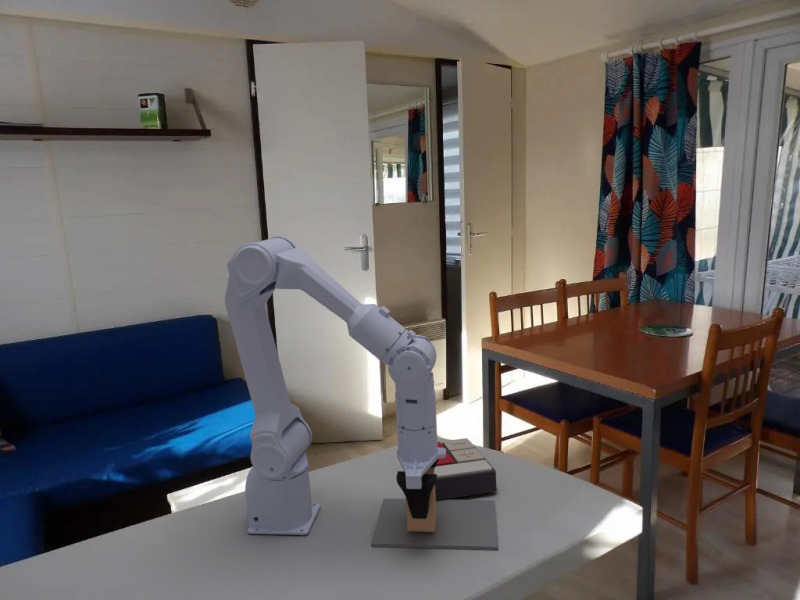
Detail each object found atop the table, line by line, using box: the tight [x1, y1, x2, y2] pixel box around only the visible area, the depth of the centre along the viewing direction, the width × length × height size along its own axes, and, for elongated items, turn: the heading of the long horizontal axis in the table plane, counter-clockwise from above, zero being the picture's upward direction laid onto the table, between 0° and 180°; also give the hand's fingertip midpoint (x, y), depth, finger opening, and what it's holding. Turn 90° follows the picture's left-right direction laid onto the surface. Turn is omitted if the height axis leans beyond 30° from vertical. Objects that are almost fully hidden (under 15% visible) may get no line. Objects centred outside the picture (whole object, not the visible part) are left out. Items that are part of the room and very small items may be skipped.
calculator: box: [434, 438, 497, 500], centre depth 101 cm, size 11×4×15 cm
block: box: [405, 467, 436, 532], centre depth 85 cm, size 4×4×8 cm
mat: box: [370, 498, 499, 551], centre depth 88 cm, size 18×12×1 cm, turn 83°
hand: (420, 508), depth 85 cm, fingers closed on block, 4 cm apart
